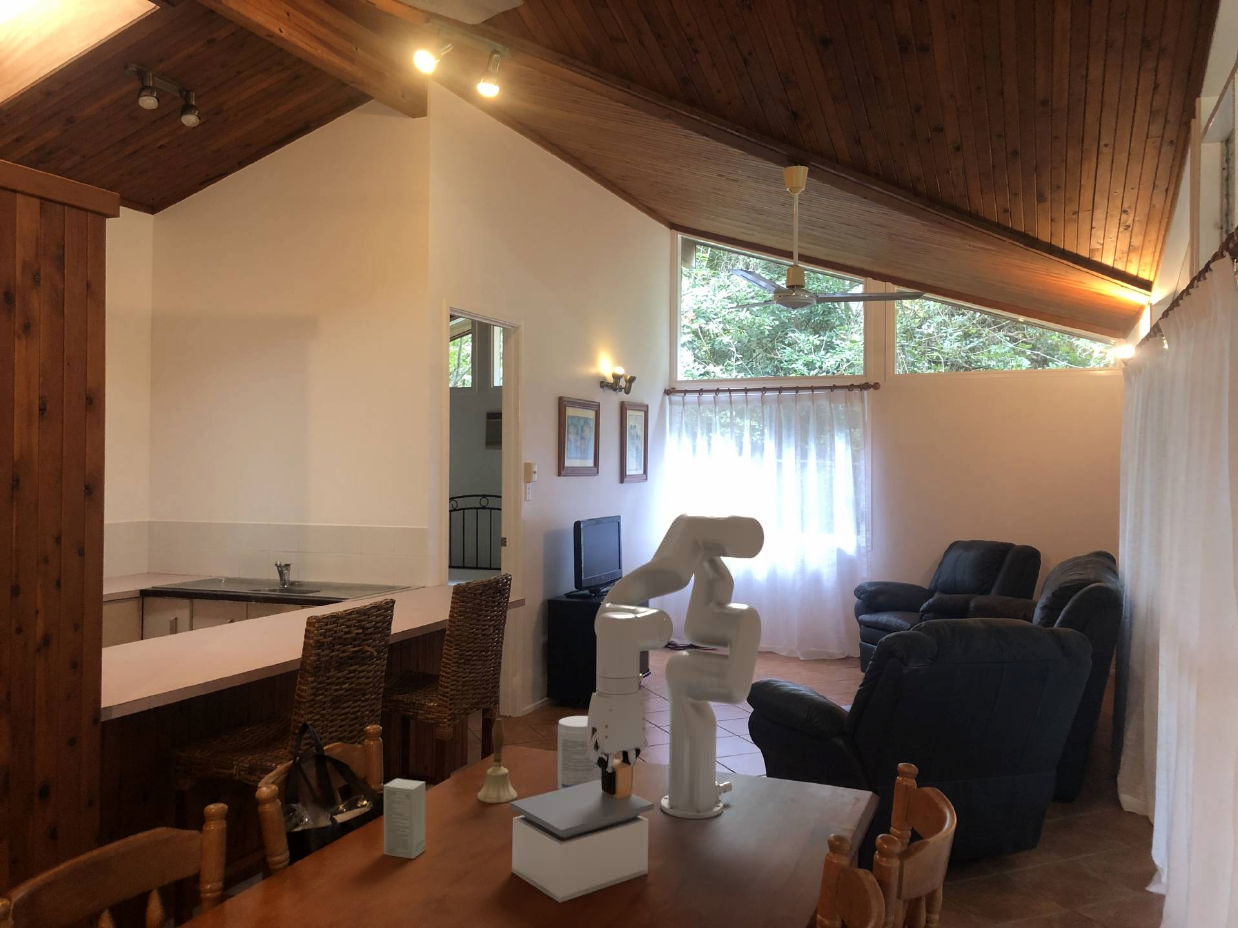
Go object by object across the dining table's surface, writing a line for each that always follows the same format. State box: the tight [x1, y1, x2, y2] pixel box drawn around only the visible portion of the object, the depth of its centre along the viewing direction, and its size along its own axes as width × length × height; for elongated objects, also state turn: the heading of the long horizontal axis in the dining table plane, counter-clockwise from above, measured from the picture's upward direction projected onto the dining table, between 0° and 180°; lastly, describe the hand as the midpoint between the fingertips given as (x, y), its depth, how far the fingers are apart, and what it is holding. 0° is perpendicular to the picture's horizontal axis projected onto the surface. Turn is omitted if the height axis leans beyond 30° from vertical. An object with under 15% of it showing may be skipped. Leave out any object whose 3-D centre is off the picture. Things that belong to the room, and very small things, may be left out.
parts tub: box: [511, 814, 649, 904], centre depth 154 cm, size 18×14×9 cm
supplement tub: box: [557, 715, 601, 790], centre depth 195 cm, size 10×10×15 cm
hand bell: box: [476, 718, 518, 804], centre depth 191 cm, size 8×8×16 cm
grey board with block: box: [509, 759, 655, 838], centre depth 155 cm, size 19×15×7 cm
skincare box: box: [383, 777, 427, 860], centre depth 162 cm, size 6×4×12 cm
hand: (616, 789), depth 159 cm, fingers closed on grey board with block, 3 cm apart
